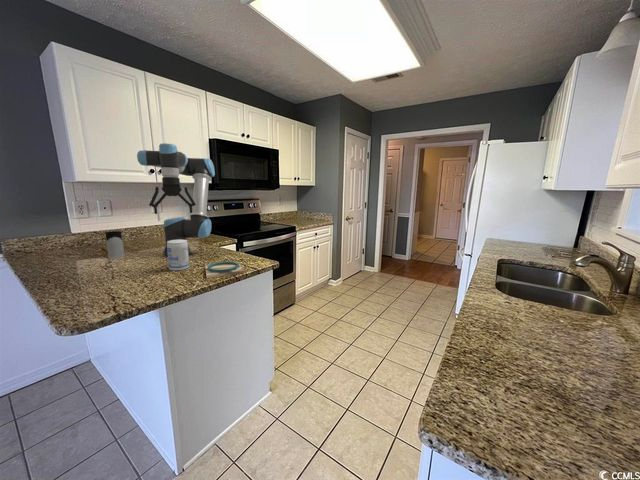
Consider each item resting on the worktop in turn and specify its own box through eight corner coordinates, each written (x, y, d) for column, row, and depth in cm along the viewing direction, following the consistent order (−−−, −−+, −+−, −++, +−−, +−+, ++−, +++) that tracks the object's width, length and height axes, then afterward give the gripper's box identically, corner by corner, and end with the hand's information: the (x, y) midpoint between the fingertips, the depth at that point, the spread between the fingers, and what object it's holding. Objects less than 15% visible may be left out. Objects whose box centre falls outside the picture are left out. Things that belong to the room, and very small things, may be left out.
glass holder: (108, 259, 154) (104, 233, 151) (106, 254, 165) (103, 230, 162) (126, 256, 160) (123, 232, 157) (123, 252, 170) (120, 229, 167)
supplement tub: (165, 271, 133) (162, 242, 131) (174, 265, 143) (172, 239, 140) (184, 271, 134) (182, 242, 131) (192, 265, 143) (190, 239, 140)
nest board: (205, 267, 140) (205, 262, 139) (238, 264, 147) (238, 259, 146) (206, 278, 124) (206, 272, 123) (243, 273, 131) (243, 268, 130)
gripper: (139, 175, 121) (144, 221, 125) (198, 177, 131) (201, 219, 135) (142, 176, 127) (147, 220, 131) (198, 178, 138) (201, 218, 142)
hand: (174, 220), depth 133 cm, fingers open, 13 cm apart
